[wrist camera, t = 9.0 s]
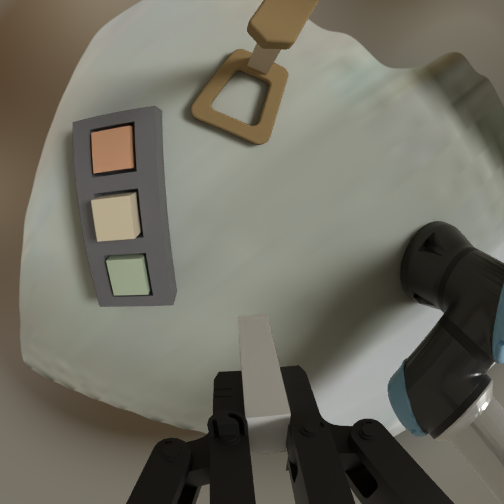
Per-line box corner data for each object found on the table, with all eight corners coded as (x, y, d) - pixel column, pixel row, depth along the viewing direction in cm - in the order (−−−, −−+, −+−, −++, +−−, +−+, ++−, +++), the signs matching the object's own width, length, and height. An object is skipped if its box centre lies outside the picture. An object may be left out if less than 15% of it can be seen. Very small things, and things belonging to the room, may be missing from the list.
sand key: (136, 191, 31) (129, 195, 29) (141, 231, 33) (134, 238, 30) (100, 196, 31) (91, 200, 28) (106, 234, 33) (97, 241, 30)
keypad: (86, 124, 30) (72, 122, 26) (161, 110, 31) (154, 106, 27) (108, 293, 39) (99, 306, 35) (176, 291, 40) (173, 305, 36)
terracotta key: (136, 127, 30) (129, 125, 27) (138, 166, 32) (131, 168, 29) (101, 133, 30) (91, 132, 27) (103, 171, 31) (93, 173, 29)
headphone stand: (187, 116, 32) (142, 67, 11) (225, 45, 29) (235, -60, 8) (263, 148, 34) (324, 144, 14) (298, 78, 31) (386, 10, 11)
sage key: (147, 250, 36) (141, 258, 33) (152, 284, 37) (148, 294, 35) (113, 252, 35) (106, 260, 32) (120, 285, 37) (113, 295, 34)
